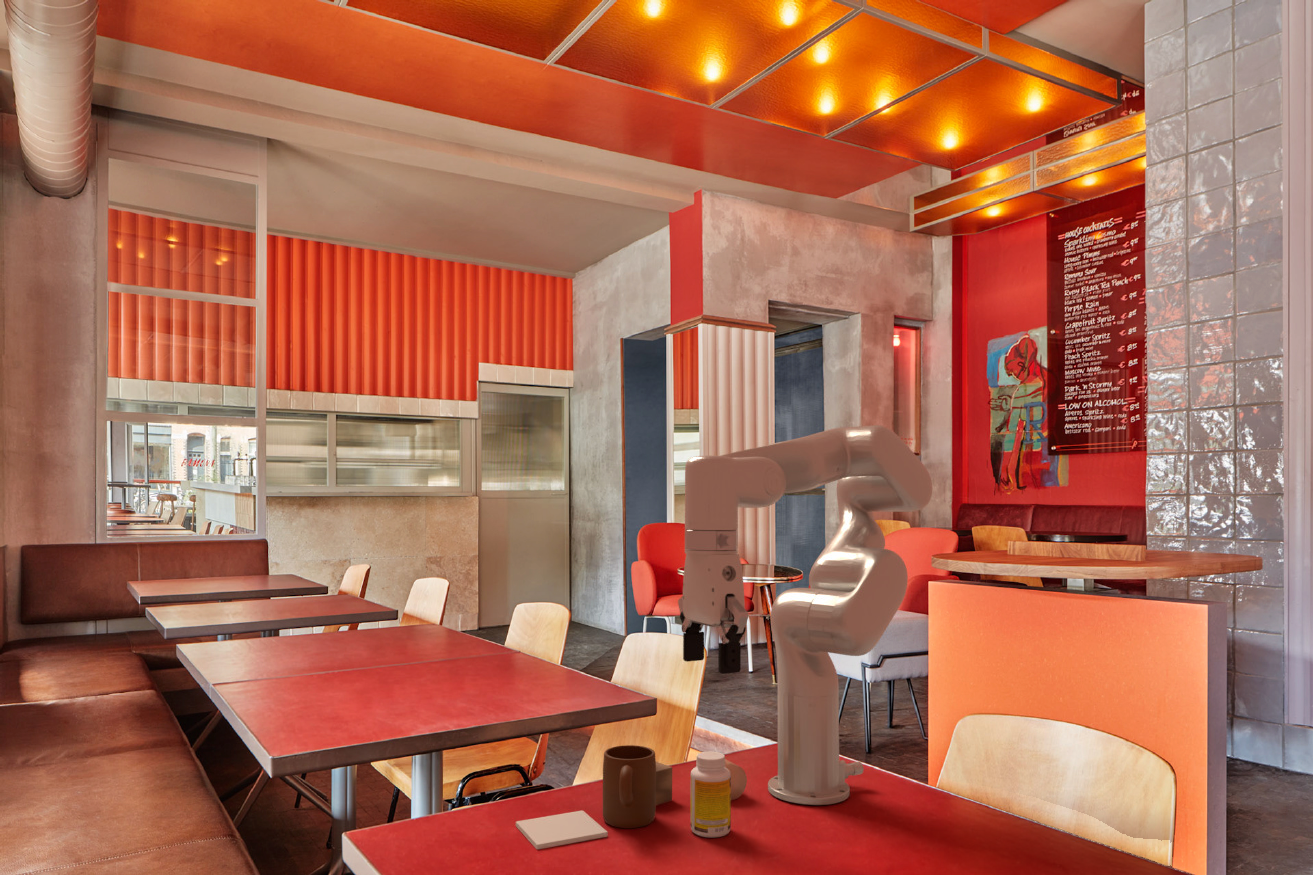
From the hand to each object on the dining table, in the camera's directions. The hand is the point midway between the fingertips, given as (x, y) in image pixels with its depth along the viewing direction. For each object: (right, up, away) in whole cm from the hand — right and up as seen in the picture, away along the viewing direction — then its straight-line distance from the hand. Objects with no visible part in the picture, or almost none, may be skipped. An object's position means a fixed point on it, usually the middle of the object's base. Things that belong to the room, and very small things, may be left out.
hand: (710, 666), depth 118 cm
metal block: (-9, -23, +11) cm, 27 cm away
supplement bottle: (0, -22, -2) cm, 22 cm away
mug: (-12, -23, 0) cm, 25 cm away
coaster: (-21, -22, -2) cm, 30 cm away
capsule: (+1, -23, +13) cm, 27 cm away
